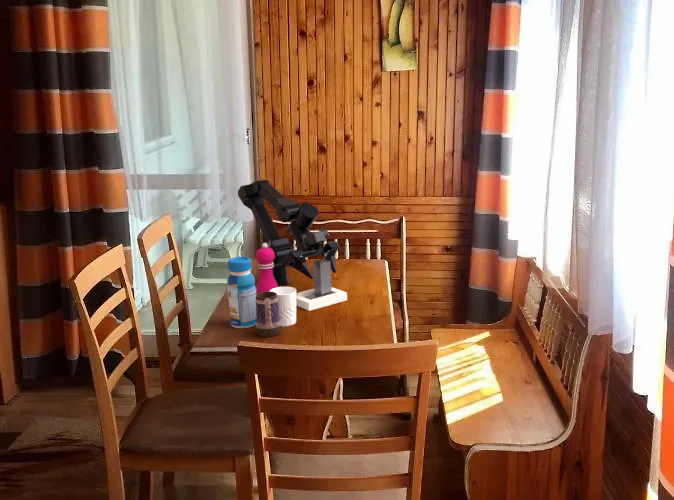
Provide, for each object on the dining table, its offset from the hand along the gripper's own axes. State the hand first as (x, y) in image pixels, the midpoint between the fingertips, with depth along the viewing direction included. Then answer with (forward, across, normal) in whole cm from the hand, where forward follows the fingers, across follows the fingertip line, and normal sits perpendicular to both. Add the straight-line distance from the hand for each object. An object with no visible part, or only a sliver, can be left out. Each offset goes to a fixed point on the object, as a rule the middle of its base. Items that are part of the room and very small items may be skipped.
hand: (324, 275), depth 238 cm
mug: (+16, -30, -3) cm, 34 cm away
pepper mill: (-1, -15, +14) cm, 20 cm away
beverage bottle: (+7, -30, +6) cm, 32 cm away
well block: (+5, -2, +7) cm, 9 cm away
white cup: (+12, -21, 0) cm, 24 cm away
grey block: (+5, -2, +7) cm, 9 cm away
